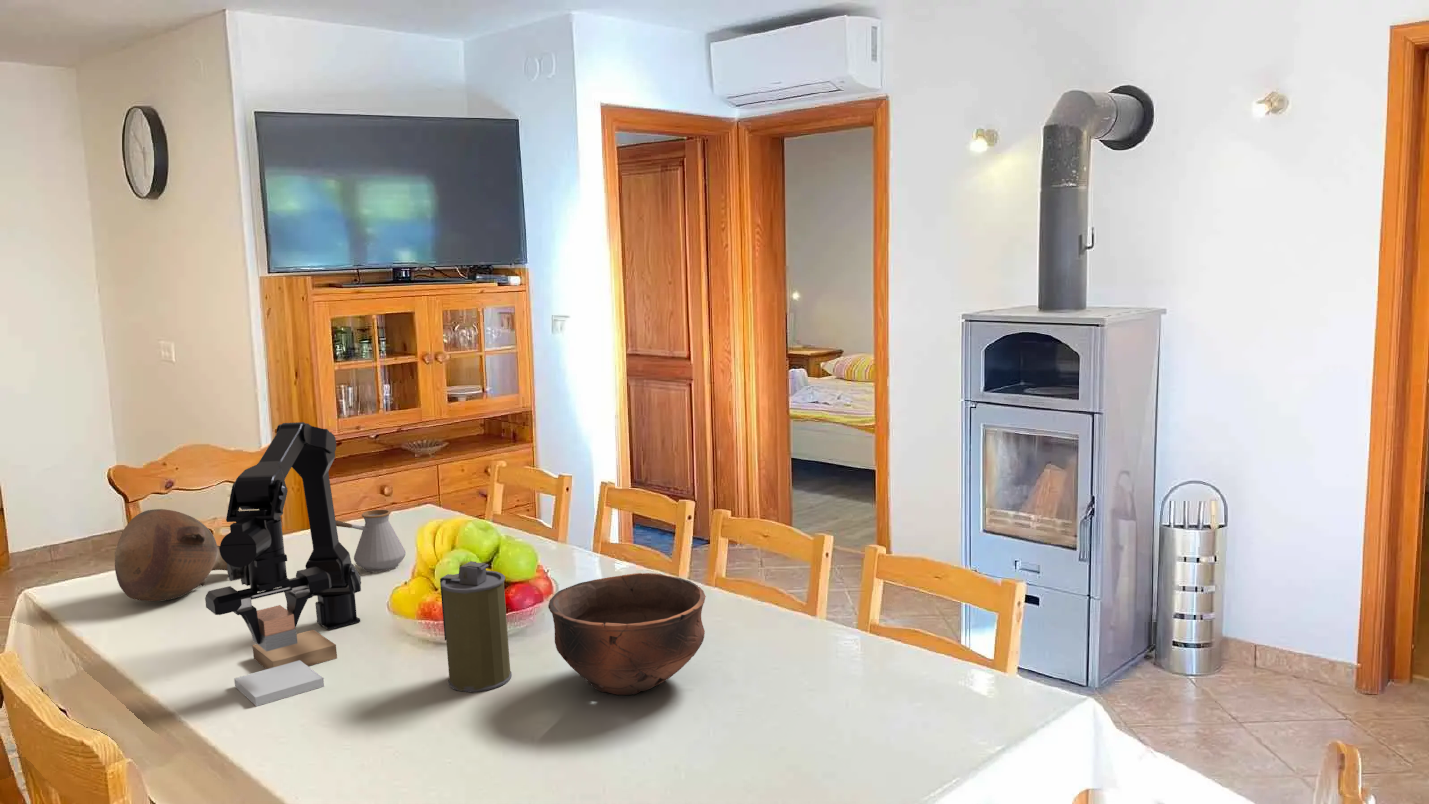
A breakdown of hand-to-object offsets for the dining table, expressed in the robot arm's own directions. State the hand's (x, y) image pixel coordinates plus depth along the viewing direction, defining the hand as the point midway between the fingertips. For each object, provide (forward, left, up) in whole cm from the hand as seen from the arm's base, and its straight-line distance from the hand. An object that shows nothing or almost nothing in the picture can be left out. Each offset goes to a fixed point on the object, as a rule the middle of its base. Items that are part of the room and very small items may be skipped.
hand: (274, 639), depth 179 cm
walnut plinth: (-6, -11, -8) cm, 15 cm away
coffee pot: (-36, -53, -9) cm, 65 cm away
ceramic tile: (0, 0, -8) cm, 8 cm away
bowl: (-42, +42, -9) cm, 60 cm away
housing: (0, 0, -1) cm, 0 cm away
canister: (-25, +22, -9) cm, 35 cm away
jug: (-4, -69, -9) cm, 70 cm away
